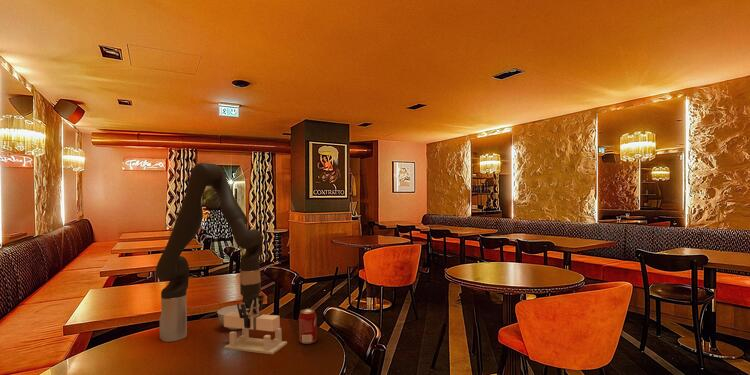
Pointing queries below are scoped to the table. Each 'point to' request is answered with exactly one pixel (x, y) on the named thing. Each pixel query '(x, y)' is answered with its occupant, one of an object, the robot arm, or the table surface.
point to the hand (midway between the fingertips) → (251, 325)
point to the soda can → (307, 326)
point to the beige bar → (252, 321)
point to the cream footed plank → (256, 342)
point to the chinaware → (226, 311)
